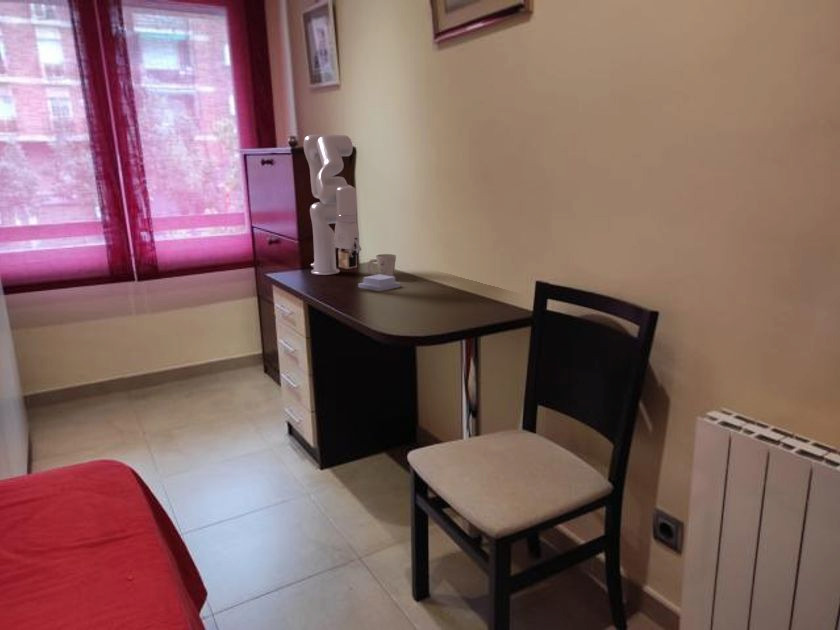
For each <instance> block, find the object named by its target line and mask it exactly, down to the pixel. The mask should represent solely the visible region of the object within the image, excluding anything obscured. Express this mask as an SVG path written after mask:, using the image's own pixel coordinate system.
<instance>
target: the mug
mask: <svg viewBox="0 0 840 630" xmlns="http://www.w3.org/2000/svg"><path fill="white" fill-rule="evenodd" d="M375 258H376V259H375ZM375 258H374V259H373V258H372V259H370V260H369V261H368V262H367V264H366V269H367V272H368V273H369V274H371V275H372V276H373V275H378V274H381V275H387V276H392V277H395V269H396V258H397V255H396V254H389V253H384V254H377V255H376V257H375ZM372 263H377V271H378V272H373V271H372V269H371V267H370V266H371V264H372Z"/></svg>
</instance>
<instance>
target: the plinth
mask: <svg viewBox="0 0 840 630" xmlns="http://www.w3.org/2000/svg"><path fill="white" fill-rule="evenodd" d="M357 284H358V285H357V286H358V287H357V288H360V289H365V290H370V291H375V292H382V291H383V292H384V291H388V290H392V289H397V288H400V287H401V286H402V285H401V282H397V281H396V276H394V277H392V276H387V275H381V274H378V275H373V274H372V275H369V276H364V277H363V282H360V283H357Z"/></svg>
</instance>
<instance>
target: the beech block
mask: <svg viewBox="0 0 840 630" xmlns="http://www.w3.org/2000/svg"><path fill="white" fill-rule="evenodd" d="M352 253H353V250H352ZM337 255H338V268H342V269H347V270H348V269H353V268H357V267H358V264H357V263H358V262H357V261H358V259H357V257H358V255H357V256H356V266H355V267H349V257H350V253H349V250H346V251H341V252H338V251H337Z"/></svg>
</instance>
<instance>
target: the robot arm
mask: <svg viewBox="0 0 840 630" xmlns="http://www.w3.org/2000/svg"><path fill="white" fill-rule="evenodd" d="M303 139H304V140H303V152H304V155H305V159H306V160H307V163H308V167H309V175H310V185H311V193H312V196H313V197H314V198H315V199H319V201H318V202H313V204H311V205H310V208H309V214H310V219H311V225H312V226H311V227H312V236H313V237H312V238H313V239H312V241H313V259H314V261H313V263H311V264H310V266H311V267H312V268H313V269H311V271H310V272H311V274H313V275H319V276H320V275H321V276H327V275H328V276H329V275H336V274H339V273H340V269H339V268H337V259H336V251H337V253H338V252H341V251H347V250H349V253H350V257H349V267H354V268H356V267H355V266H356V256H357V257H358V255H359V253H360V252H361V251H362V248H361V246H360V245H361V244H360V232H359V227H358V223H357V221H358V220H357V218H358V217H357V190H356V188H355V187H354V186H352V185H350V184H348V183H347V180H346V179H345V178H344V177H343V176H336V175H339V174H340V173H341V172H342V171H343V169H344V168H345V167H344V161H343V157H350V156H351V155H352V154H353V149H354V147H353V142H352V139H351V138H350V137H349V136H348V135H344V134H323V133H322V134H318V133H317V134H309V135H307V136H305V137H304V138H303ZM330 224H335V226H334V230H333V229H332V227H330ZM352 251H353V253H352Z"/></svg>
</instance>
